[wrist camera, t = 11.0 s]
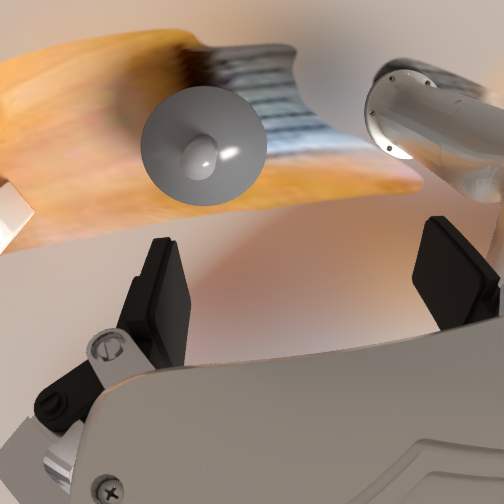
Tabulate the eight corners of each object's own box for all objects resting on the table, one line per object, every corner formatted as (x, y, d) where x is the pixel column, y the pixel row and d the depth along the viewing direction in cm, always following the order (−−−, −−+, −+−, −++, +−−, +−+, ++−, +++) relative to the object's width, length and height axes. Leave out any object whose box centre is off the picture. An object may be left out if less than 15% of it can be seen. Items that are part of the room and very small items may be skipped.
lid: (261, 79, 29) (266, 83, 24) (269, 195, 36) (275, 220, 31) (134, 97, 29) (114, 106, 24) (156, 207, 36) (144, 234, 31)
